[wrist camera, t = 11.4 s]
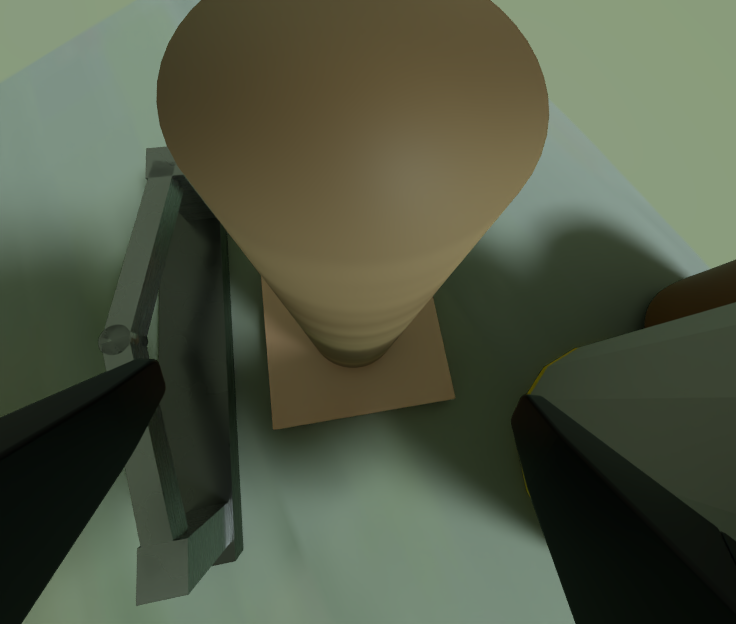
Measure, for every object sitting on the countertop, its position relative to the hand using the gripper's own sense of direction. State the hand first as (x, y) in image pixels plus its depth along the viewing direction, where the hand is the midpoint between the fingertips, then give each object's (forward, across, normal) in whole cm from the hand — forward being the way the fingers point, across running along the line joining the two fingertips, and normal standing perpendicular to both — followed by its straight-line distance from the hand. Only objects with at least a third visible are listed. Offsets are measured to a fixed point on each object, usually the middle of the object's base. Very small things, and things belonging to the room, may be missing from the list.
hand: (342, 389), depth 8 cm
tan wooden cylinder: (+8, 0, +3) cm, 8 cm away
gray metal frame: (+7, +7, +5) cm, 12 cm away
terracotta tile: (+9, 0, +4) cm, 9 cm away
